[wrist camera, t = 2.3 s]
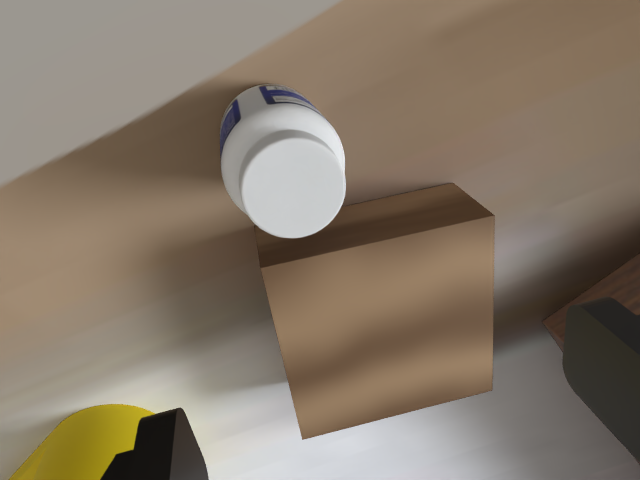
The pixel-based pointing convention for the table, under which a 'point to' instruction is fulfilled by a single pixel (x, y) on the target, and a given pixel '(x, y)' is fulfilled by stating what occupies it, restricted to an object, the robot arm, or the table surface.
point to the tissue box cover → (622, 285)
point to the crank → (84, 444)
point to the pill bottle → (282, 161)
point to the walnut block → (384, 307)
